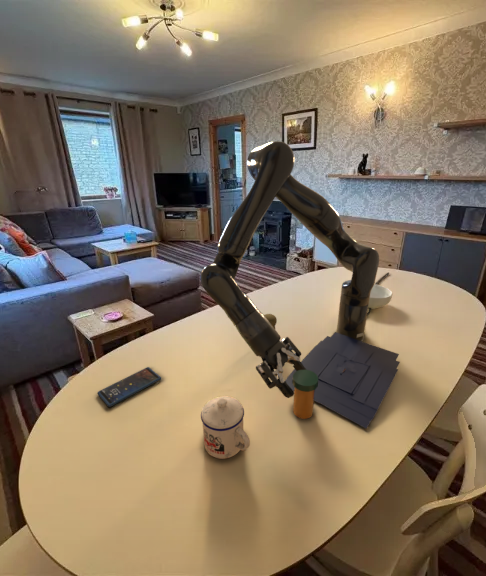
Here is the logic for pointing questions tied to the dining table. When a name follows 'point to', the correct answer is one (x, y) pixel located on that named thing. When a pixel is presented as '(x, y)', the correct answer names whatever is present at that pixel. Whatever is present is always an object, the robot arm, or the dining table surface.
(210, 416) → the teacup with lid
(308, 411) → the jar
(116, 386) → the smartphone
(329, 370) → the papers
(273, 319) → the brown rounded tall piece
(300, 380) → the lid
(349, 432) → the dining table surface
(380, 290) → the cereal bowl
